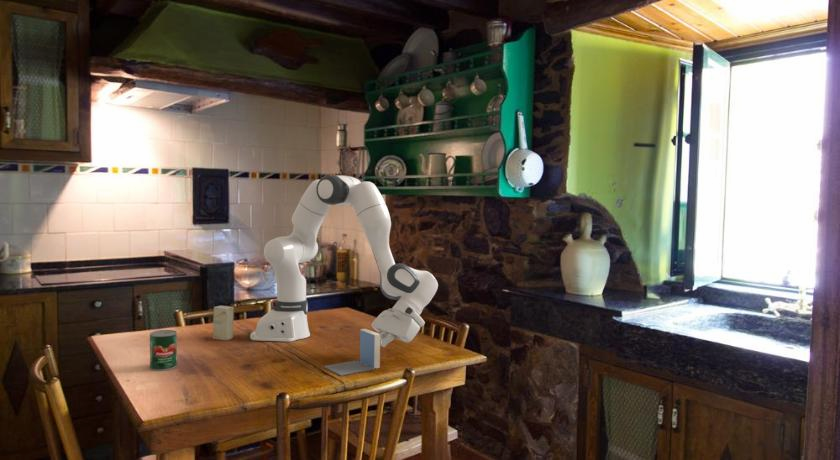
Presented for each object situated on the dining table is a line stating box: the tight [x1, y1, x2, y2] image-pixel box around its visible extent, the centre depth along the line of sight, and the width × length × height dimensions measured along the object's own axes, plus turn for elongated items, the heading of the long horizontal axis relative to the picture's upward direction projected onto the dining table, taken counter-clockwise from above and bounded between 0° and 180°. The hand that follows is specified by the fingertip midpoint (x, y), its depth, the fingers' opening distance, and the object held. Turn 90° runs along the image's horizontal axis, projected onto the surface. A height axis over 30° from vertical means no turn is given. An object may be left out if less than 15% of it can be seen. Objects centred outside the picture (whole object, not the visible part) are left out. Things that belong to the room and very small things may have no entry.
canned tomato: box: [149, 329, 178, 372], centre depth 189 cm, size 8×8×11 cm
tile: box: [359, 328, 381, 370], centre depth 196 cm, size 2×9×11 cm, turn 37°
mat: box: [323, 359, 375, 377], centre depth 191 cm, size 12×11×1 cm
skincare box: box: [212, 305, 234, 341], centre depth 226 cm, size 6×4×12 cm
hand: (380, 345), depth 198 cm, fingers closed
